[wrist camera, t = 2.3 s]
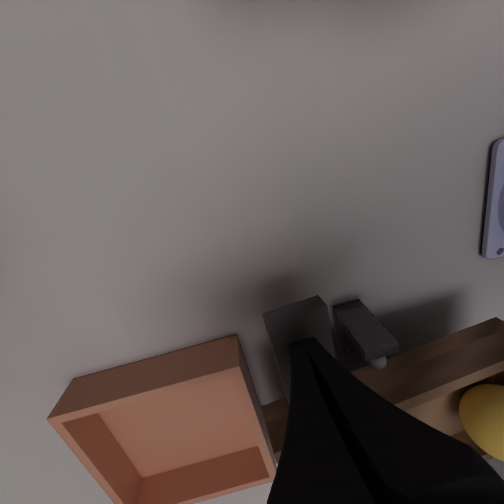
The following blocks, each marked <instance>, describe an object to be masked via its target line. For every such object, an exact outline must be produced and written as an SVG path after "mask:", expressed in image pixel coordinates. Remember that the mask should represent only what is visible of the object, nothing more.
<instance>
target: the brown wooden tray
mask: <svg viewBox="0 0 504 504" xmlns="http://www.w3.org/2000/svg"><path fill="white" fill-rule="evenodd" d="M262 315H263V318H264V322H265V325H266V329H267V333H268V336H269V340H270V344H271V347H272V351H273V355H274V358H275V362H276V366H277V369H278V373H279V377H280V380H281V384H282V388H283V391H284V395H285V398H282V399H280V400H277V401H275V402H272V403H269V404H267V405H264V406H261V409H262V413H263V416H264V420H265V424H266V427H267V431H268V434H269V438H270V442H271V445H272V449H273V453H274V456H275V459H276V462H277V463H279V459H280V455H281V451H282V446H283V442H284V437H285V431H286V426H287V419H288V412H289V403H290V389H291V364H290V355H289V351H288V347H287V346H288V344H289V343H293V342H296V341H300V340H304V339H307V338H311V337H315V338H317V340H318V341H319V342H320V343H321V344H322V345H323V347H324V348H325V349H326V350H327V351H328V352H329V353H330V354H331V355H332V356H333V357H334V358H335V351H334V345H333V339H332V332H331V326H330V319H329V313H328V307H327V304H326V303H325V302H324V301H323V300H322V299H321V298H320V297H319V296H318V295H317V296H314V297H311V298H308V299H305V300H302V301H299V302H296V303H294V304H291V305H288V306H285V307H282V308H279V309H276V310H273V311H270V312H267V313H264V314H262ZM335 359H336V358H335ZM351 373H352V374H353V375H354V376H355V377H357V378H358V379H359V380H360V381H362V382H363V383H364V384H365V385H367V386H368V387H369V388H371V389H372V390H373V391H375V392H376V393H378V394H379V395H380V396H382V397H383V398H385V399H386V400H388V401H389V402H391V403H392V404H394V405H395V406H397V407H399V408H400V409H402V410H404V411H405V412H407V413H409V414H410V415H412V416H414V417H415V418H417V419H419V420H420V421H422V422H424V423H426V424H428V425H429V426H431V427H433V428H435V429H437V430H439V431H441V432H443V433H445V434H447V435H449V436H451V437H453V438H455V439H457V440H459V441H461V442H463V443H466V444H468V445H470V446H471V447H472V448H473V449H474V450H475V451H476V452H478V453H479V454H480V455H481V456H482V457H483V458H484V459H485V460H486V461H488V460H490V459H492V458H494V457H493V456H491V455H490V454H488V453H487V452H485V451H484V450H483V449H481V448H480V447H479V446H478V445H477V444H476V443H475V442H474V441H473V440H472V439H471V438H470V436H469V435H468V434H467V432H466V430H465V429H464V427H463V424H462V422H461V419H460V415H459V404H460V400H461V398H462V396H463V395H464V393H465V392H466V391H467V390H469V389H470V388H472V387H474V386H477V385H481V384H495V385H501V386H504V321H502V320H500V319H498V318H497V317H495V318H492V319H490V320H487V321H484V322H482V323H479V324H476V325H474V326H471V327H469V328H466V329H463V330H461V331H458V332H456V333H453V334H450V335H448V336H445V337H442V338H440V339H437V340H435V341H432V342H429V343H427V344H424V345H421V346H419V347H416V348H414V349H411V350H408V351H406V352H403V353H400V354H398V355H395V356H393V357H390V358H387V359H386V356H385V357H381V358H377V359H374V360H370V361H369V366H366V367H364V368H361V369H358V370H356V371H353V372H351Z"/></svg>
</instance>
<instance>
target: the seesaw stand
mask: <svg viewBox="0 0 504 504" xmlns="http://www.w3.org/2000/svg"><path fill="white" fill-rule="evenodd" d="M332 308H333V315H334V322H335V329H336V335H337V342H338V349H339V355H340V362H341V364H342V365H343V366H344V367H345V368H346V369H347V370H348V371H349V372H353V371H356V370H358V369H361V368H364V367H366V366H369V361H370V360H374V359H377V358H381V357H385V356H388V355H392V354H396V353H399V342H398V341H397V339H396V338H395V337H394V336H393V335H392V334H391V333H390V332H389V331H388V330H387V329H386V328H385V327H384V326H383V324H382V323H381V322H380V321H379V320H378V319H377V318H376V317H375V316H374V315H373V314H372V313H371V312H370V311H369V309H368V308H367V307H366V306H365V305H364V304H363V303H362V302H361V301H360V300H359V299H357V300H353V301H349V302H346V303H342V304H338V305H335V306H332Z"/></svg>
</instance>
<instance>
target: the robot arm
mask: <svg viewBox="0 0 504 504" xmlns="http://www.w3.org/2000/svg"><path fill="white" fill-rule="evenodd" d="M482 256H483V257H484V258H487V259H495V258H498V257H502V256H504V138H501V139H499V140H497V141H496V142H495V144H494V145H493V148H492V157H491V166H490V176H489V186H488V196H487V206H486V216H485V226H484V236H483V246H482ZM287 347H288V351H289V355H290V364H291V389H290V403H289V412H288V419H287V426H286V431H285V437H284V442H283V446H282V451H281V455H280V459H279V463H278V467H277V471H276V474H275V478H274V481H273V484H272V487H271V490H270V494H269V497H268V500H267V504H504V480H503V479H502V478H501V477H500V476H499V474H498V473H497V472H496V471H495V470H494V469H493V467H492V466H491V465H490V464H489V463H488V462H487V461H486V460H485V459H484V458H483V457H482V456H481V455H480V454H479V453H478V452H476V451H475V450H474V449H473V448H472V447H471V446H470V445H468V444H466V443H463V442H461V441H459V440H457V439H455V438H453V437H451V436H449V435H447V434H445V433H443V432H441V431H439V430H437V429H435V428H433V427H431V426H429V425H428V424H426V423H424V422H422V421H420V420H419V419H417V418H415V417H414V416H412V415H410V414H409V413H407V412H405V411H404V410H402V409H400V408H399V407H397V406H395V405H394V404H392V403H391V402H389V401H388V400H386V399H385V398H383V397H382V396H380V395H379V394H378V393H376V392H375V391H373V390H372V389H371V388H369V387H368V386H367V385H365V384H364V383H363V382H362V381H360V380H359V379H358V378H357V377H355V376H354V375H353V374H352V373H351V372H349V371H348V370H347V369H346V368H345V367H344V366H343V365H342V364H341V363H339V362H338V361H337V360H336V359H335V358H334V357H333V356H332V355H331V354H330V353H329V352H328V351H327V350H326V349H325V348H324V347H323V345H322V344H321V343H320V342H319V341H318V340H317V338H315V337H311V338H307V339H304V340H300V341H296V342H293V343H289V344H288V346H287Z"/></svg>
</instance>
